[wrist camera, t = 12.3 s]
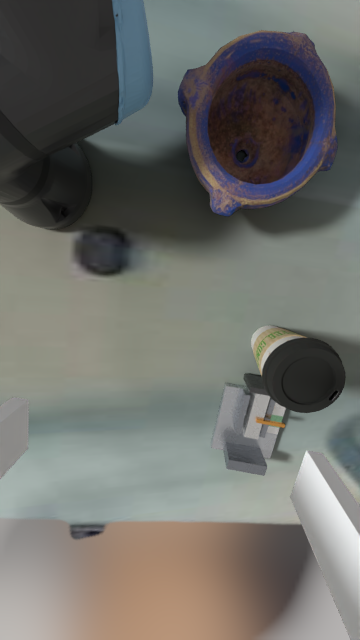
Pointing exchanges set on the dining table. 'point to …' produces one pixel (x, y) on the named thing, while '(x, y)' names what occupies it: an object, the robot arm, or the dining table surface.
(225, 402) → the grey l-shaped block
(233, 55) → the bowl
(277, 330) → the coffee cup
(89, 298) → the dining table surface
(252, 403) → the plunger
